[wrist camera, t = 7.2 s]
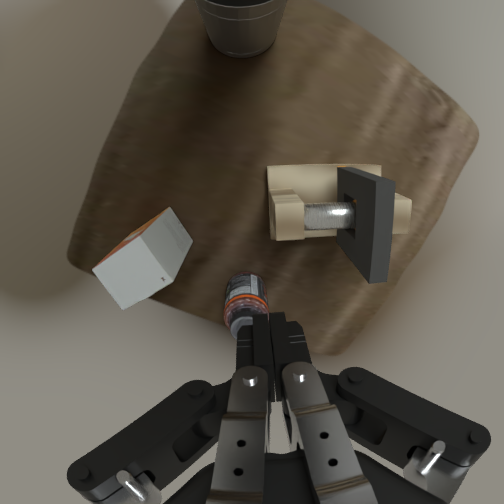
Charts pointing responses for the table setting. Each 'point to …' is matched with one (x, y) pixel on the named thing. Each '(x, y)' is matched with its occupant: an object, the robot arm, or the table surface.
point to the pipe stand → (318, 202)
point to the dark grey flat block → (367, 221)
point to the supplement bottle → (244, 300)
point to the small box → (145, 260)
